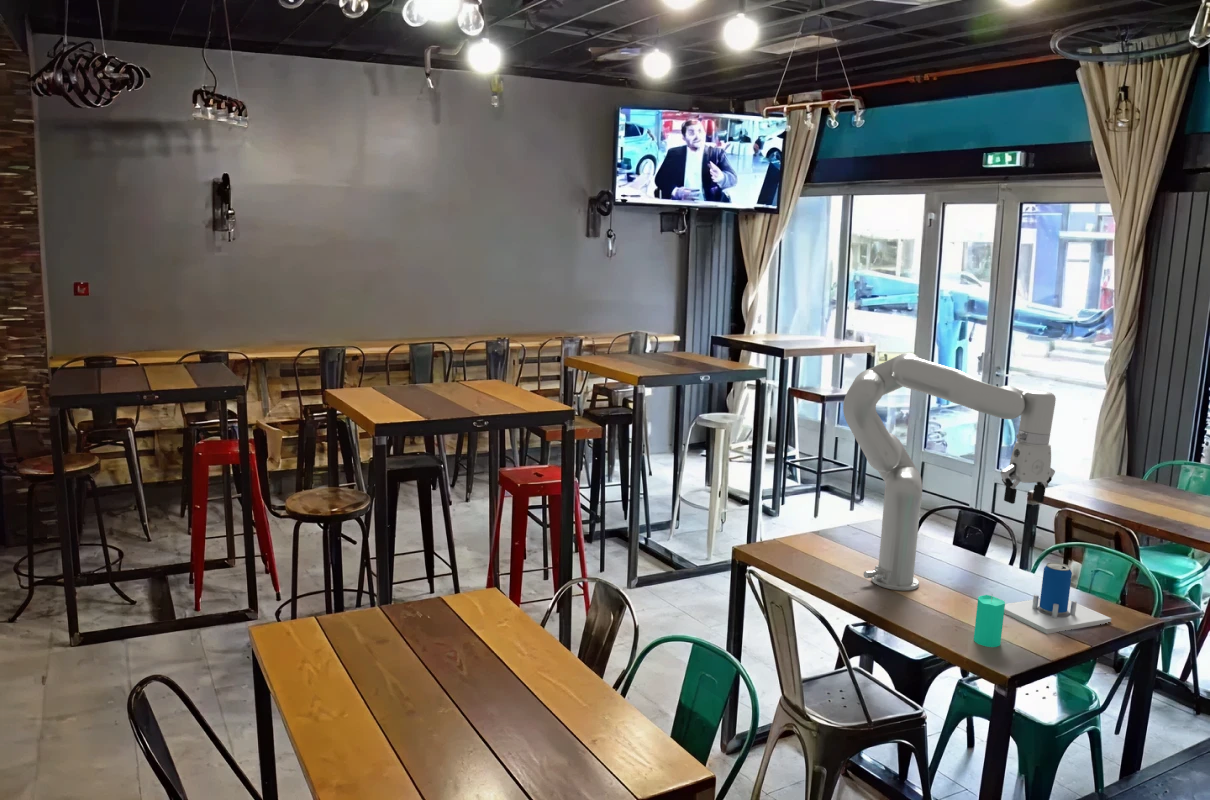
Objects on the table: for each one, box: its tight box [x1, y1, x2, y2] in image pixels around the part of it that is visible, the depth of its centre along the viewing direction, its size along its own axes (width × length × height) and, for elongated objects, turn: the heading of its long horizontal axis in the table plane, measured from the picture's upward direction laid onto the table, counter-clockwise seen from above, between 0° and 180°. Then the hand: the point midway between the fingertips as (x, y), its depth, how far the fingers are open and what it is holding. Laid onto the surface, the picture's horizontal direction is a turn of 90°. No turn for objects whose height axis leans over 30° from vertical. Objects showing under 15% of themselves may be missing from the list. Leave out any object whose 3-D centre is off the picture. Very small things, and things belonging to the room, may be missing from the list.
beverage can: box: [1039, 561, 1073, 615], centre depth 240 cm, size 6×6×12 cm
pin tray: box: [1004, 594, 1112, 635], centre depth 241 cm, size 22×16×5 cm
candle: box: [973, 593, 1006, 648], centre depth 223 cm, size 6×6×12 cm
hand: (1023, 501), depth 248 cm, fingers open, 9 cm apart
